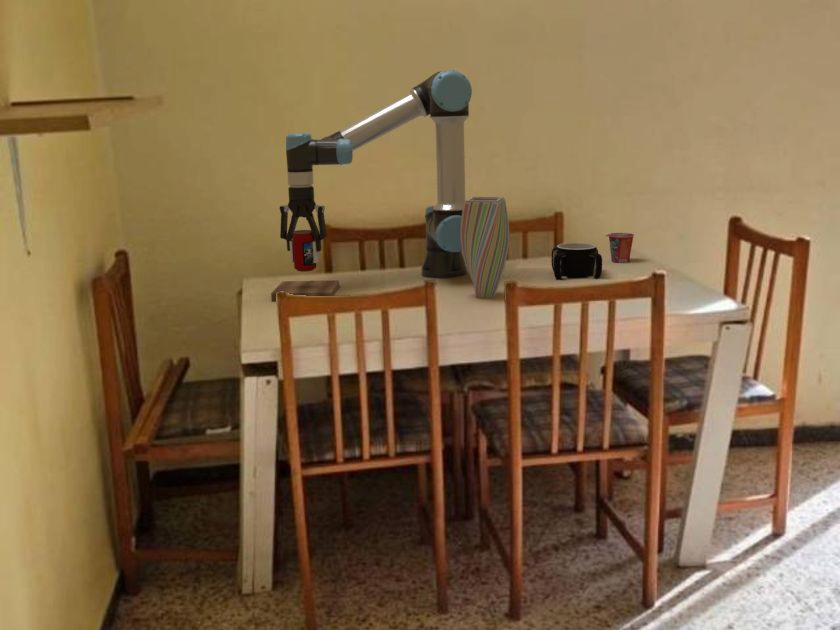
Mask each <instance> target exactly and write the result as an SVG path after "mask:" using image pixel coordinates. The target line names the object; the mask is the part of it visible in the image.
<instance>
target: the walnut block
mask: <svg viewBox="0 0 840 630" xmlns="http://www.w3.org/2000/svg"><path fill="white" fill-rule="evenodd" d="M339 288H340V280H338V279H337V280H336V279H335V280H332V279H331V280H283V281H281V282H280V283H279V284H278V285H277V287H276V288H274V290H273V291H271V293H270V296H271V297H270V298H271V302H272V303H273V302H274V303H275V302H276V293H277V292H280V291H284V292H287V293H289V294H293V295H306V296H333V297H334V296H335V294H336V292H337V291H338V289H339ZM276 303H277V302H276Z"/></svg>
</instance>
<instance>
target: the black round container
mask: <svg viewBox="0 0 840 630" xmlns="http://www.w3.org/2000/svg"><path fill="white" fill-rule="evenodd" d="M550 260H551V268H552V271H553V275H554V278H555V280H559V281H561V280H565V279H583V278H584V279H585V278H589V279H595V280H597V279H600V278H601V276H602V272H603V257H602V255H601V253H599V249H598V248H597V245H595V244H593V243H589V242H565V243H559V244H557V245H556V247H553V248H552V249H551V259H550ZM593 275H594V276H593Z"/></svg>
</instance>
